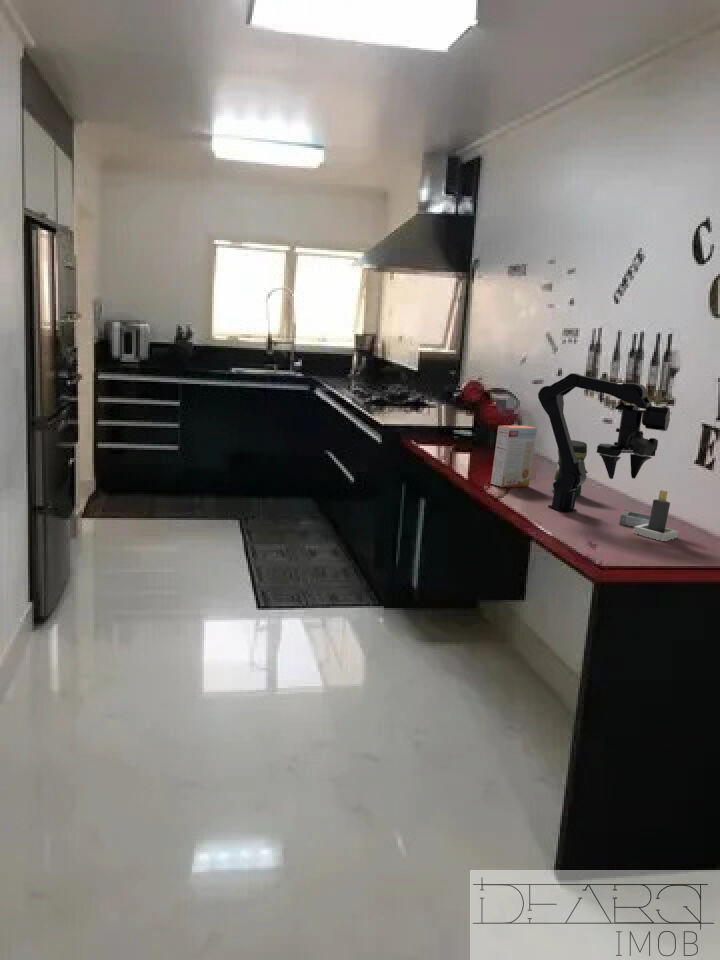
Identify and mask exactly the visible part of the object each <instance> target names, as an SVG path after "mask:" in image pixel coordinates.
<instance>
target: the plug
mask: <svg viewBox="0 0 720 960" xmlns="http://www.w3.org/2000/svg"><path fill="white" fill-rule="evenodd" d="M667 496H668V491H667V490H662V489H661V490H660V491H659V494H658V499H653V501H652V505H651V510H650V514H649V515H650V520H649V525H648V529H649V530H653V531H656V532H660V533H665V528H667V526H666V525H667V522H668V517H669V511H670V505H671V502H669V501H667Z"/></svg>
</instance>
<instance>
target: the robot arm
mask: <svg viewBox="0 0 720 960" xmlns="http://www.w3.org/2000/svg"><path fill="white" fill-rule="evenodd" d="M575 388H578V389H583V390H588V391H592V392H595V393H596V392H597V393H601V394H606V395H610V396H612V397H615V398H616V399H618V400H620V401H621V402H620V403H619V404H618V405H616V406H615V407H614V409H615V410H619V411H621V416H620V422H619V427H617V428H616V429H615V432H617V433H618V434H617V435H618V436H617V441H614V442H613V444H611V443H598V444H597V447H596V454H599V457H601V459H602V461H603V463H604V466H605V469H606V472H607V475H608V478H609V479H611V480H613V479H614V477H615V472H616V467H617V463H618V461H619V460H620V459H621V456H620V455H621V454H630V456H629V459H630V477H631V479H636V478H637V476H638V474H639V472H640V470H641V468H642V466H643V464H644V463H645V462H646V461H648V460H651V459H652V457H655V456H656V451H657V450H658V446H659V445H658V444H659V440H658V439H657V438H654V437H651V438H645V437H644V432H643V431H644V430H643V431H642V430H641V427H642V426H641V425H643V426H644V428H645V429H648V430H655V431H662V432H667V431H668V429H669V426H670V425H669V424H670V407H669V406H654V405H652V403H651V401H650V400H649V397H648V396H647V395H648V392H647V391H648V390H647V388H646V386H645V385H643V384H641V383H630V382H626V383H625V382H613V381H609V380H604V379H600V378H596V377H591V376H585V375H582V374H580V373H577V372H576V373H573V372H572V373H569V374H568V375H567V376H565V377H563V378H561V379H560V380H558V381H556V382H554V383H553V384H551V385H544V386H543V387H541V388H540V389H539V391H538V393H537V397H538V400H539V403H540V404H541V406H542V409H543V410H544V411H545V414H546V415H547V416H548V419H549V421H550V424H551V428H552V431H553V432H552V433H553V435H554V439H555V442H556V445H557V451H558V450H559V454H560V457H561V478H560V479H559V480H557V481H556V482H554V483H553V482H552V485H553V487H554V492H553V497H552V500H551V501H552V503H551V504H548V505H547V506H548V508H550V507H551V509H552V510H553V509H554V510H556V511H559V512H565V513H567V512H570V513H571V512H577V511H578V509H576V508H575V505H576V500H577V496H576V491H575V490H577V488H578V487H579V485H581V486H582V485H583V484H585V482H586V480H587V474H588V473H589V472H588V470H587V469H586V462H585V460H584V461H580V462H579V460H578V459H577V457H576V456H575V452H574V449H573V445H572V442H571V440H572V439H571V436H570V432H569V428H568V424H567V421H566V417H565V415H564V407H565V406H564V405H565V402H564V400H565V399H564V396H566V395H568V394H569V393H570V392H572V391H573V390H574V389H575ZM626 403H628V404H626ZM637 408H638V409H637Z"/></svg>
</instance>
